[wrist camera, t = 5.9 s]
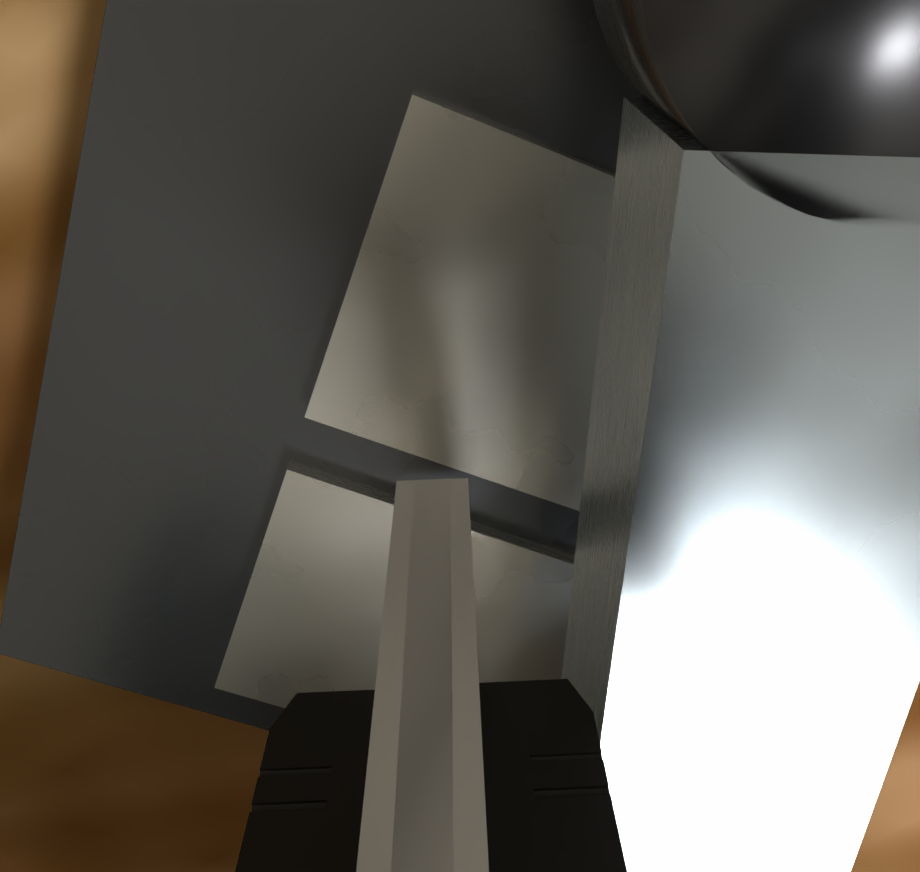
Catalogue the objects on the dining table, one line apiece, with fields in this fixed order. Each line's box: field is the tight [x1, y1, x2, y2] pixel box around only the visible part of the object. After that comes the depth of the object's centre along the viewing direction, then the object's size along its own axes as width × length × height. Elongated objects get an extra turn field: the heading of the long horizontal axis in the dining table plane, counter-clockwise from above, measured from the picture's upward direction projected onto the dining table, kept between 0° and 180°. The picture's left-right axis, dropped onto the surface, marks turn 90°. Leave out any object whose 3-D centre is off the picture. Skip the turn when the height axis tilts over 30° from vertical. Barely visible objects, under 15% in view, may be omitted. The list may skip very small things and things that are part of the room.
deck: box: [0, 0, 641, 730], centre depth 13 cm, size 16×14×4 cm
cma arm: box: [562, 0, 920, 872], centre depth 10 cm, size 18×4×3 cm, turn 179°
